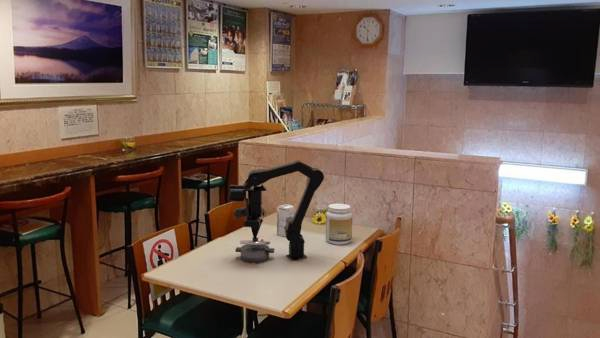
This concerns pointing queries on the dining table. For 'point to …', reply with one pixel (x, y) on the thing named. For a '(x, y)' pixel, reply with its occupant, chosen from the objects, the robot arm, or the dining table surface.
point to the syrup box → (284, 218)
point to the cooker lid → (255, 242)
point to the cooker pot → (254, 253)
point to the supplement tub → (339, 224)
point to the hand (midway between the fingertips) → (254, 237)
